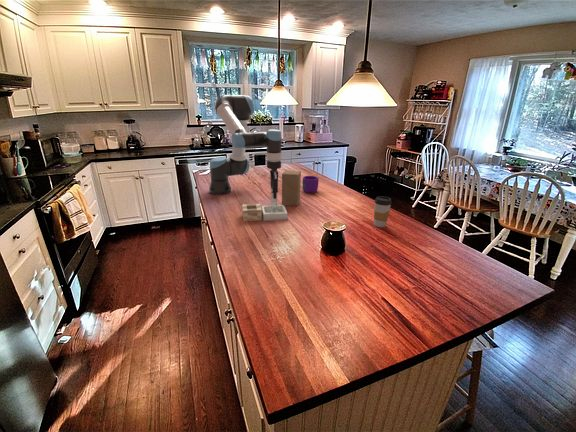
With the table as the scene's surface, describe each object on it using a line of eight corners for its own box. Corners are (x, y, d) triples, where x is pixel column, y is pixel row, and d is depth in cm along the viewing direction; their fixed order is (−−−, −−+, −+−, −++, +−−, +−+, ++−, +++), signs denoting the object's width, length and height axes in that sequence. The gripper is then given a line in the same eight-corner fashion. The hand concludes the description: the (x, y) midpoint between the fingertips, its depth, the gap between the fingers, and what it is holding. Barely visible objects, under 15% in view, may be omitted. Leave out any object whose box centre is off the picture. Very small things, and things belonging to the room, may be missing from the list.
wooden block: (297, 206, 180) (298, 174, 172) (281, 205, 181) (281, 173, 174) (299, 201, 189) (301, 170, 181) (284, 199, 190) (285, 169, 183)
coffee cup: (376, 220, 161) (380, 194, 155) (390, 225, 155) (395, 198, 150) (368, 224, 155) (372, 198, 150) (382, 229, 150) (387, 202, 144)
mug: (320, 192, 206) (321, 179, 202) (305, 194, 203) (305, 180, 199) (311, 186, 221) (312, 173, 217) (297, 187, 218) (297, 174, 214)
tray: (261, 212, 169) (261, 205, 168) (283, 211, 172) (283, 204, 170) (263, 221, 158) (263, 214, 156) (287, 219, 160) (287, 213, 158)
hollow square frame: (242, 214, 166) (242, 204, 164) (260, 213, 168) (259, 203, 166) (243, 221, 157) (242, 210, 155) (261, 220, 159) (261, 209, 156)
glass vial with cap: (270, 210, 165) (270, 186, 159) (276, 209, 165) (276, 186, 160) (271, 212, 161) (271, 188, 156) (277, 212, 162) (277, 188, 157)
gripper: (265, 157, 159) (265, 197, 168) (268, 163, 144) (269, 207, 153) (278, 157, 161) (278, 197, 170) (283, 163, 146) (283, 207, 155)
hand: (274, 202), depth 161 cm, fingers closed on glass vial with cap, 3 cm apart
